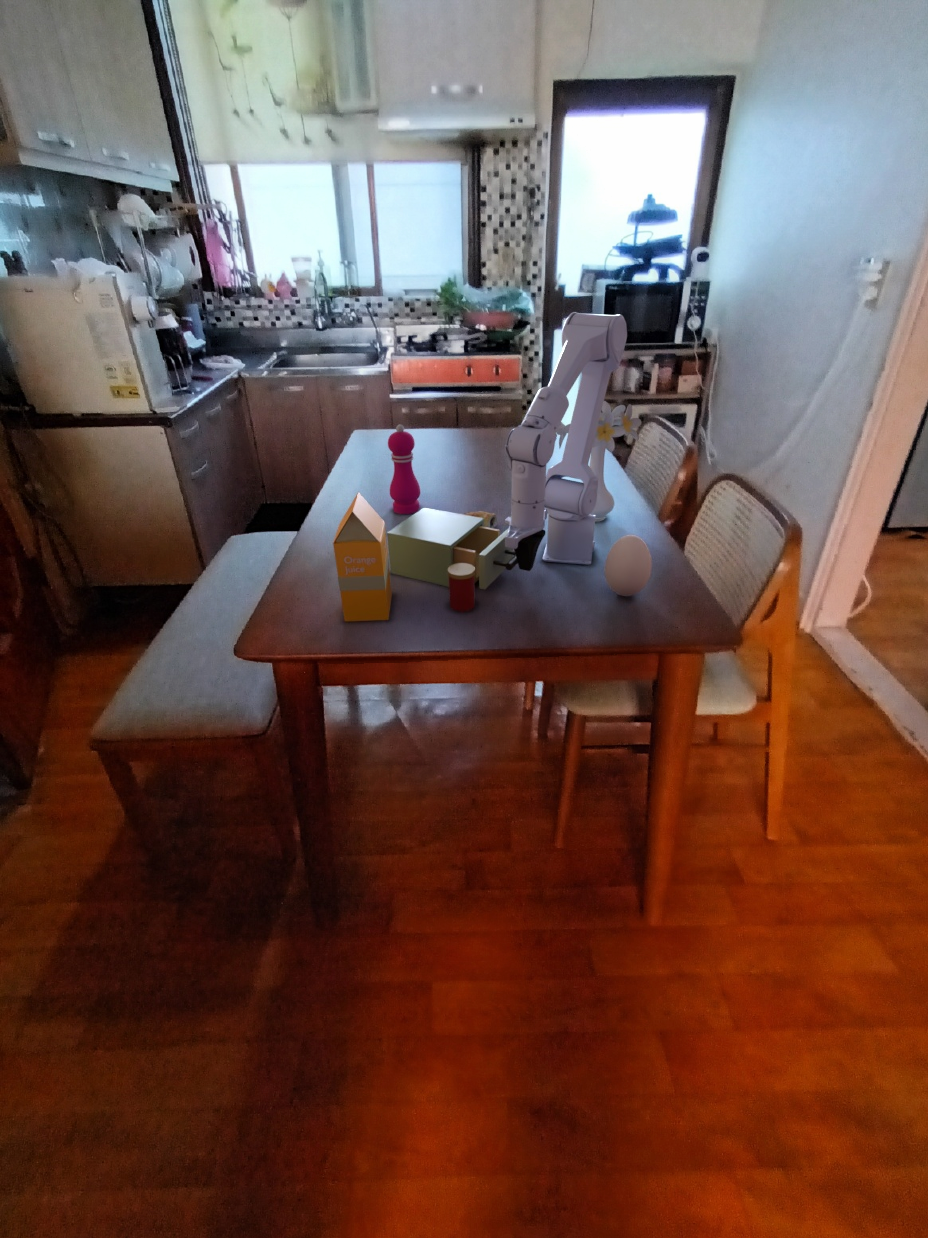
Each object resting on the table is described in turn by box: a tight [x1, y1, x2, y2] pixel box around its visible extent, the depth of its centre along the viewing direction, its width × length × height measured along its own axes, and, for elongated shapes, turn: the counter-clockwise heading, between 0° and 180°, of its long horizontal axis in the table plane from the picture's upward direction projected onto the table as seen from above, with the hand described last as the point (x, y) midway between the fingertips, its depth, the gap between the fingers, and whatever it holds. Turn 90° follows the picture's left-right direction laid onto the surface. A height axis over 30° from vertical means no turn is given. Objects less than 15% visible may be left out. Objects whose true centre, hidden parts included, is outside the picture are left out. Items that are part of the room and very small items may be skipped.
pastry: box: [461, 510, 499, 529], centre depth 137 cm, size 9×7×4 cm
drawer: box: [453, 526, 518, 590], centre depth 117 cm, size 16×12×7 cm
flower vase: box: [556, 400, 642, 523], centre depth 135 cm, size 13×18×25 cm
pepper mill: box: [387, 423, 421, 515], centre depth 143 cm, size 7×7×20 cm
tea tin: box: [448, 563, 476, 612], centre depth 108 cm, size 5×5×7 cm
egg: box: [603, 534, 653, 597], centre depth 109 cm, size 8×8×11 cm
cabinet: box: [386, 507, 484, 588], centre depth 121 cm, size 14×14×9 cm
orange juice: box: [332, 491, 393, 622], centre depth 104 cm, size 8×9×20 cm
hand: (525, 568), depth 114 cm, fingers closed, pressing on drawer
